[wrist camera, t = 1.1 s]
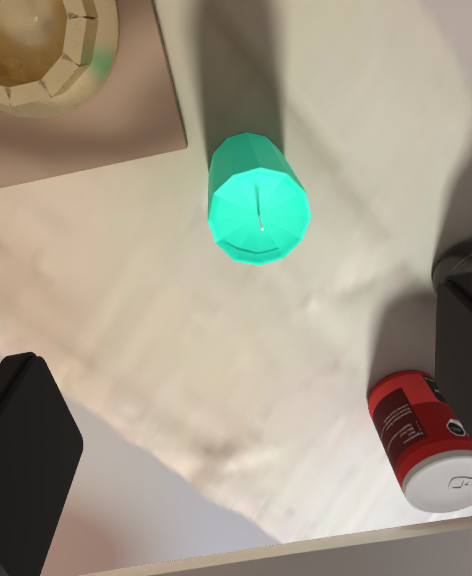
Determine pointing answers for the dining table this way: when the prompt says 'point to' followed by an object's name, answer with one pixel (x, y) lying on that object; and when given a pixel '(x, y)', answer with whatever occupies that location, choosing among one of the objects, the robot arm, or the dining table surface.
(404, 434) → the canned food
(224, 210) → the candle
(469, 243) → the supplement bottle
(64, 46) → the candle holder
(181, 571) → the robot arm
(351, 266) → the dining table surface
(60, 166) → the walnut board
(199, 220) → the dining table surface
